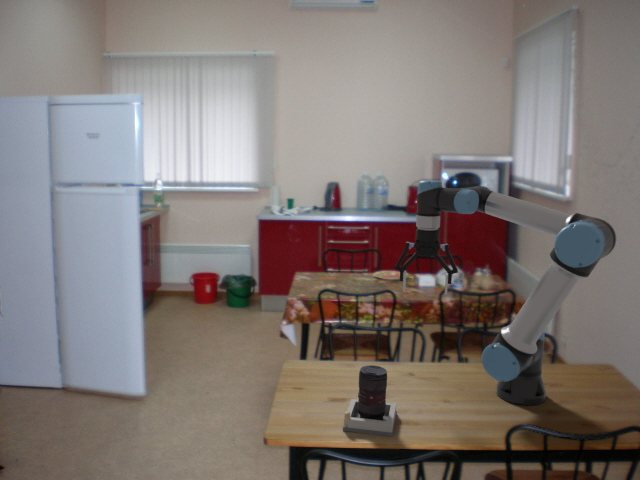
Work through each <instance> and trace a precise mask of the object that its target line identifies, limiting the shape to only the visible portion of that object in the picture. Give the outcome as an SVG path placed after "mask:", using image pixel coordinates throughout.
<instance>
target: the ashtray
mask: <svg viewBox="0 0 640 480" xmlns="http://www.w3.org/2000/svg"><path fill="white" fill-rule="evenodd" d="M358 400H359V398H351V399H350V402H349V405H348V407H347V409H346V411H344V413H343V417H344V418H343V426H342V432H349V433H351V432H352V433H358V434H359V433H360V434H365V435H366V434H368V435H375V436H385V437H393V436H394V430H395V426H396V421H397V416H398V415H397V414H398V411H397V403H396V402H394V403H393V402H387V401H386V407H385V414H384V416H383V420H382V421H381V420H372V419H363V418H360V414H359V409H358Z"/></svg>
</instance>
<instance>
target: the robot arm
mask: <svg viewBox="0 0 640 480" xmlns="http://www.w3.org/2000/svg"><path fill="white" fill-rule="evenodd" d="M417 185H418V186H417V192H416V197H417V200H416V222H415V226H416V227H417V228H416V230H415V242H410V241H406V242H405V247H404V250H403V252H402V254H401V255H400V257H399V258H398V260H397V262H396V264H395V265H394V270H396V271H399V281H400V282H402V292H404V293H405V292H406V289H407V288H406V283H407V270H406V269H407V268H408V267H409V266H410V265H411V264H412V263H413V262H414V261H415V260H416V259H417V258H418V257H419V256H420V257H421V258H426V257H428V258H433V257H434V259H436V260H437V262H438V263H439V264H440V265H441V267H442V268H443V270H445V279H444V280H445V284H444V295H448V285H451V284H452V277H453V274H458V270H459V269H458V267H457V265H456V263H455V260H454V259H453V256H452V254H451V252H450V248H449V244H448V243H447V242H446V243H445V244H443V243H442V244H440V229H439V228H440V227H441V213H442V212H446V213H455V214H460V215H472V214H474V213H475V212H480V213H483V214H486V215H490V216H492V217H495V218H498V219H502V220H504V221H508V222H510V223H514V224H516V225H519V226H522V227H525V228H528V229H531V230H534V231H537V232H541V233H544V234H547V235H548V236H553V237H556V238H555V240H554V243H553V244H554V245H553V248H552V250H551V251H550V253H549V255H548V256H549V260H550V263H549V265H548V266H547V268H546V269H545V271H544V272H543V274H542V275H541V277H540V279H539V280H538V282H537V283H536V284H535V287H534V288H533V289H532V291H531V293H530V294H529V295H528V297H527V299H526V300H525V302H524V304H523V305H522V307H521V308H520V309H519V311H518V312H517V314H516V316H515V317H514V318H513V320H512V322H511V323H510V324H508V325H507V326H503V327H502V328H501V329H500V331H499V332H498V333H497V335H496V337H495V338H494V340H493V341H492V343H490V344H488V345H487V346H485V348H484V349H483V351H482V353H481V358H480V359H481V364H482V367H483V369H484V370H485V372H486V374H488V376H489V377H490V378H492V379H493V380H495V381H498V382H497V384H496V391H495V392H496V395H497V396H498V397H499V398H500V399H502V400H504V401H506V402H509V403H512V404H516V405H521V406H522V405H523V406H536V405H541V404H543V403H544V402H545V401H546V395H547V394H546V393H547V392H546V389H545V384H544V381H543V376H542V371H543V362H544V361H543V360H544V349H545V341H546V340H545V330H546V329H547V327H548V325H549V324H550V323H551V321H552V320H553V318H554V317H555V315H556V314H557V312H558V311H559V310H560V308H561V307H562V305H563V304H564V302H565V301H566V300H567V298H568V296H569V294H570V293H571V292H572V291H573V289H574V287H575V286H576V285H577V283H578V282H579V280H581V279H587V278H589V276H590V275H591V273H592V272H593V271H594V269H595V268H596V266H597V265H598V263H599V261H600V260H601V259H604V258H606V257H607V256H608V255H610V254H611V253H612V252H613V250H614V249H615V247H616V244H617V243H616V242H617V233H616V231H615V229H614V228H613V226H612V224H611V223H609V222H608V221H606V220H605V219H602V218H598V217H594V216H590V215H587V214H581V213H579V212H574V213H572V214H570V213H566V212H563V211H560V210H557V209H552V208H549V207H546V206H543V205H540V204H537V203H534V202H531V201H527V200H523V199H520V198H516V197H513V196H509V195H507V194H504V193H500V192H496V191H493V190H491V189H490V188H489V187H486V186H482V185H476V186H470V187H461V188H452V187H449V188H448V187H443V183H442V181H441V180H434V179H433V180H431V179H423V180H420V181H419V182H418V184H417ZM412 248H414V250H415V252H414V253H413V255H412V256H411V257H410V258H409V259H408V260H407V261H406V262H404V264H403V265H402V262H403V261H404V259H405V257H406V255H407V254H408V252H409V250H411V249H412ZM440 249H441V250H442V251H443V252H444V253H445V255H446V257H447V260H448V262H449V265H450V267H449V265H448V264H447V263H446V261H445V260H444V259H443V258H442V257H441V254H440V253H438V251H439V250H440ZM401 265H402V266H401ZM451 268H452V269H451Z"/></svg>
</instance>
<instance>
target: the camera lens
mask: <svg viewBox="0 0 640 480" xmlns="http://www.w3.org/2000/svg"><path fill="white" fill-rule="evenodd" d="M387 388H388V371H387V369H386V368H385V367H381V366H379V365H374V364H373V365H364V366H361V367H360V369H359V373H358V393H357V394H358V395H357V397H358V398H357V399H358V409H359V414H360V418H363V419H372V420H381V421H382V420H383V416H384V414H385V407H386V402H387V401H386V395H387Z"/></svg>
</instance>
